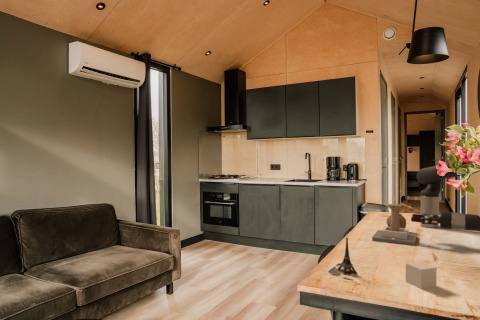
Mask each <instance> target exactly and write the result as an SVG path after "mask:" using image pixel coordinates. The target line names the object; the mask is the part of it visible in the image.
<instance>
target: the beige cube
mask: <svg viewBox="0 0 480 320" xmlns="http://www.w3.org/2000/svg"><path fill="white" fill-rule="evenodd" d="M437 269H438V268H437V267H435V266H433V265H432V264H431V265H430V264H428V263H425V262H423V261H417V262H408V263H405V283H407V284H409V285H411V286H414V287H416V288H417V289H420V290H422V289H423V290H424V289H430V288H436V287H437V276H438V275H437V271H438V270H437Z"/></svg>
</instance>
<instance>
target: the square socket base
mask: <svg viewBox="0 0 480 320" xmlns="http://www.w3.org/2000/svg"><path fill="white" fill-rule="evenodd" d="M417 238H418V234H417V233H409V228H400V229H399V232H397V231H391V227H388V226H385V225H384V227H382V229H381V230H379V229H378V230H377V231H376V232H375V233H374V234H373V235H372V237H371V239H372V240H371V241H374V242H381V243H382V242H383V243H389V244H397V245H407V246H416V242H417Z"/></svg>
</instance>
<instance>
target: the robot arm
mask: <svg viewBox="0 0 480 320" xmlns="http://www.w3.org/2000/svg"><path fill="white" fill-rule="evenodd" d="M447 161H448V160H446V161H445V162H446V163H447ZM447 166H448V168H450V167H449V165H448V163H447ZM461 176H462V175H457V174H456V173H454V172H448V173H446V174H445V176H443V177H442V176H439V175H438V174H437V169H436V165H433V166H428V167H424V168H421V169H419V170H418V171H417V173H416V180H417V181H418V182H419V183H420V184H422V185H426V186H427V187H425V188H424V189H422V190H421V191H420V208H419V209H420V213H412V216H411V217H410V220H411V222H412V223H413V222H415V223H420V227H424V228H434V229H435V228H440V229H444V230H453V231H454V230H455V231H472V232H474V231H475V232H480V215H477V214H469V213H461V212H450V211H440V193H441V190H442V189H441V188H442V179H451V178H457V177H461Z"/></svg>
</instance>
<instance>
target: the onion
mask: <svg viewBox="0 0 480 320" xmlns="http://www.w3.org/2000/svg"><path fill="white" fill-rule="evenodd" d="M399 221H400V228H406V227H407V220H406V218H405V216H403V214H402V213H399ZM386 225H387V227H391V215H389V216H388V217H387V218H386ZM406 229H407V228H406Z"/></svg>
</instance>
